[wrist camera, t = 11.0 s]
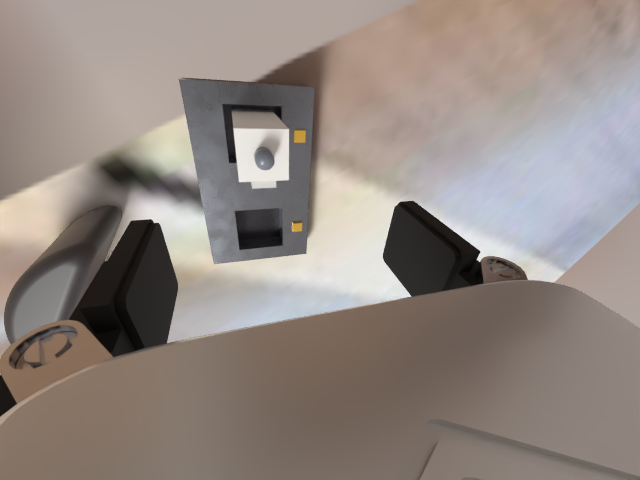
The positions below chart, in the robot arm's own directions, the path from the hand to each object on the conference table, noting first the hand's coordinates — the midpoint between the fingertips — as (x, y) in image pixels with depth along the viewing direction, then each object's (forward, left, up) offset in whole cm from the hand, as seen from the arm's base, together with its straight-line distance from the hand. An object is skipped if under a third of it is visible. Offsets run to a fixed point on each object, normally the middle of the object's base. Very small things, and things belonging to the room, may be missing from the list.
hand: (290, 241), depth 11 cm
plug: (0, 0, -22) cm, 22 cm away
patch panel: (+6, 0, -22) cm, 23 cm away
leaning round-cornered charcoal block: (+15, -19, -23) cm, 33 cm away
